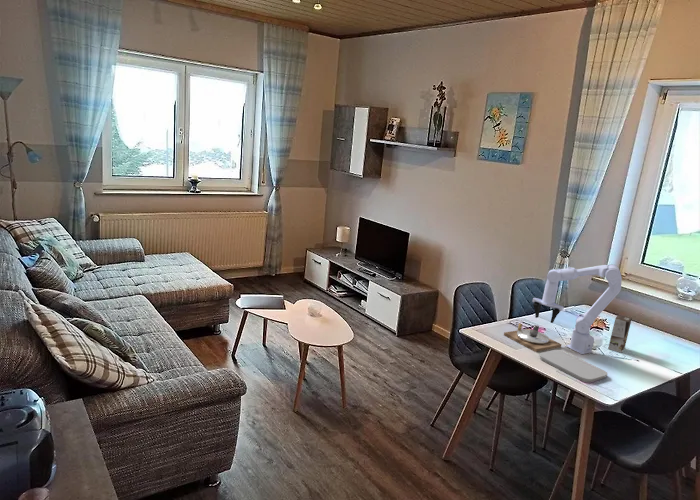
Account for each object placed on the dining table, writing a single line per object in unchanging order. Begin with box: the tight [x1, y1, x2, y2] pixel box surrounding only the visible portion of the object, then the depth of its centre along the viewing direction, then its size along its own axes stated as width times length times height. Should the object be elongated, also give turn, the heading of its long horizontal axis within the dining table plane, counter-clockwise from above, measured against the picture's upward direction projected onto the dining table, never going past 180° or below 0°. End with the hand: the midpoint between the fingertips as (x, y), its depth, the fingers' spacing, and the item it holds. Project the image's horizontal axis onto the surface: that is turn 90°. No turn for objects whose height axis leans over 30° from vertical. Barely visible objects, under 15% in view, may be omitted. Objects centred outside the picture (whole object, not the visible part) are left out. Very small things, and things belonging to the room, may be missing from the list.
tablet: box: [538, 349, 608, 383], centre depth 223 cm, size 16×26×2 cm, turn 31°
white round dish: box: [516, 325, 550, 344], centre depth 247 cm, size 15×15×4 cm
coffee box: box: [607, 314, 633, 353], centre depth 249 cm, size 9×6×16 cm
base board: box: [503, 323, 562, 353], centre depth 248 cm, size 20×18×6 cm
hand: (544, 319), depth 249 cm, fingers open, 7 cm apart
